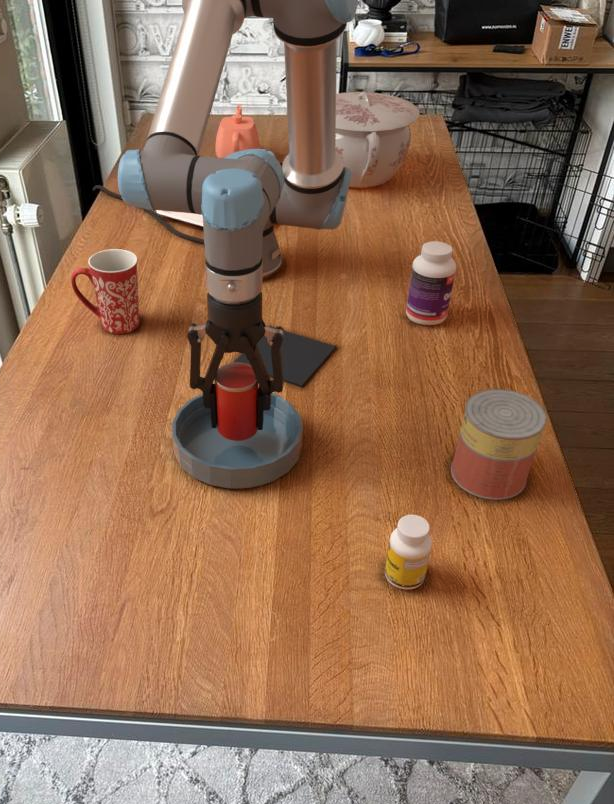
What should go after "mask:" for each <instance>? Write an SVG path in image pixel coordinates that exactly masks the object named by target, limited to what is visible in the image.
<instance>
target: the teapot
mask: <svg viewBox="0 0 614 804" xmlns="http://www.w3.org/2000/svg"><path fill="white" fill-rule="evenodd" d="M242 111H243V108H242V105H240V104H239V105H237V106H236V111H235V114H233V115H231V116H224V117H222V119H221V121H220V123H219V125H218V130H217V133H216V137H215V147H214V148H215V149H214V150H215V157H216V158H225V157H226V156H228V155H230V154H232V153H235V152H238V151H242V150H248V149H261V144H260V137H259V133H258V130H257V126H256V123H255V120H254V118H253V117H251V116H243V112H242Z"/></svg>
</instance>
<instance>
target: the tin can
mask: <svg viewBox="0 0 614 804" xmlns="http://www.w3.org/2000/svg"><path fill="white" fill-rule="evenodd" d="M214 384H215V388H216V409H217V429H218V432H219V434H220V435H221V436H223V437H224V438H226V439H229V440H233V441H242V440H246V439H249V438H251V437H253V436H254V435H255V434H256V433H257V431H258V388H259V384H258V381H257V379H256V376H255V374H254V371H253V369H252V367H251V365H248V364H245V363H233V362H230V363H226V364H223V365H221V366H219V368H218V371H217V373H216V376H215V379H214Z"/></svg>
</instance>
